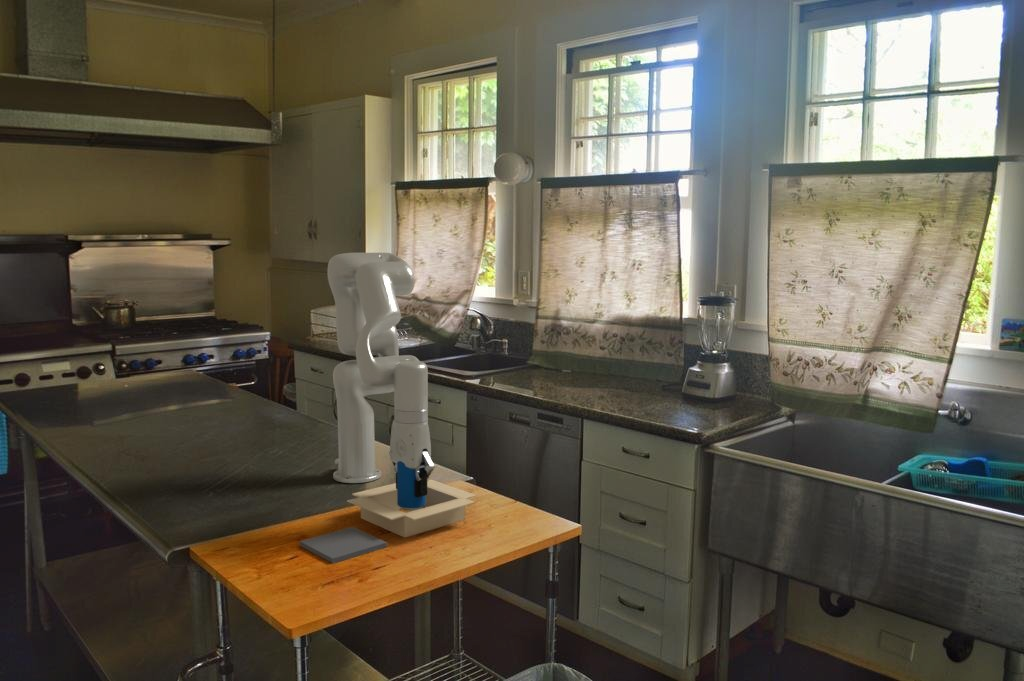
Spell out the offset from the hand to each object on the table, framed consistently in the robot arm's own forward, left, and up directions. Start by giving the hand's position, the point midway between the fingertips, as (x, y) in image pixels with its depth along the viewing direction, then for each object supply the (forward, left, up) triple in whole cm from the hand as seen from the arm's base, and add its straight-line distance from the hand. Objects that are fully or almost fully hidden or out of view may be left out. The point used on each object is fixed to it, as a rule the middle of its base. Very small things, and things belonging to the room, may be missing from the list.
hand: (411, 491), depth 197 cm
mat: (+5, -21, -6) cm, 23 cm away
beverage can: (0, 0, -4) cm, 4 cm away
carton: (+1, 0, -6) cm, 6 cm away
